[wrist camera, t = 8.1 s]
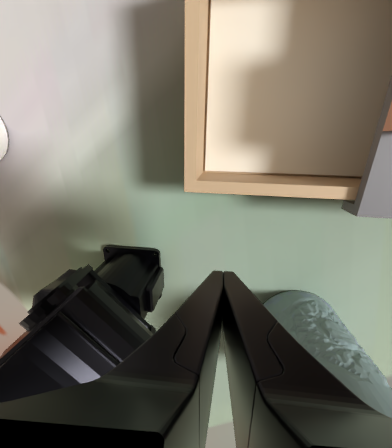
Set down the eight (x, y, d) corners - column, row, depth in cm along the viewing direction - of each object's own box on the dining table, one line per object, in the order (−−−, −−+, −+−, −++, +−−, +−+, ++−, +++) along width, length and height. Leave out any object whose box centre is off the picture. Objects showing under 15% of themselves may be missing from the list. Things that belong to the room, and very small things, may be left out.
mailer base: (195, 179, 20) (184, 191, 15) (199, -13, 15) (184, -104, 10) (425, 189, 18) (516, 207, 12) (514, -33, 13) (726, -164, 8)
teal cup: (328, 274, 22) (436, 405, 11) (351, 343, 24) (458, 508, 13) (236, 300, 25) (246, 429, 13) (266, 361, 27) (296, 511, 16)
